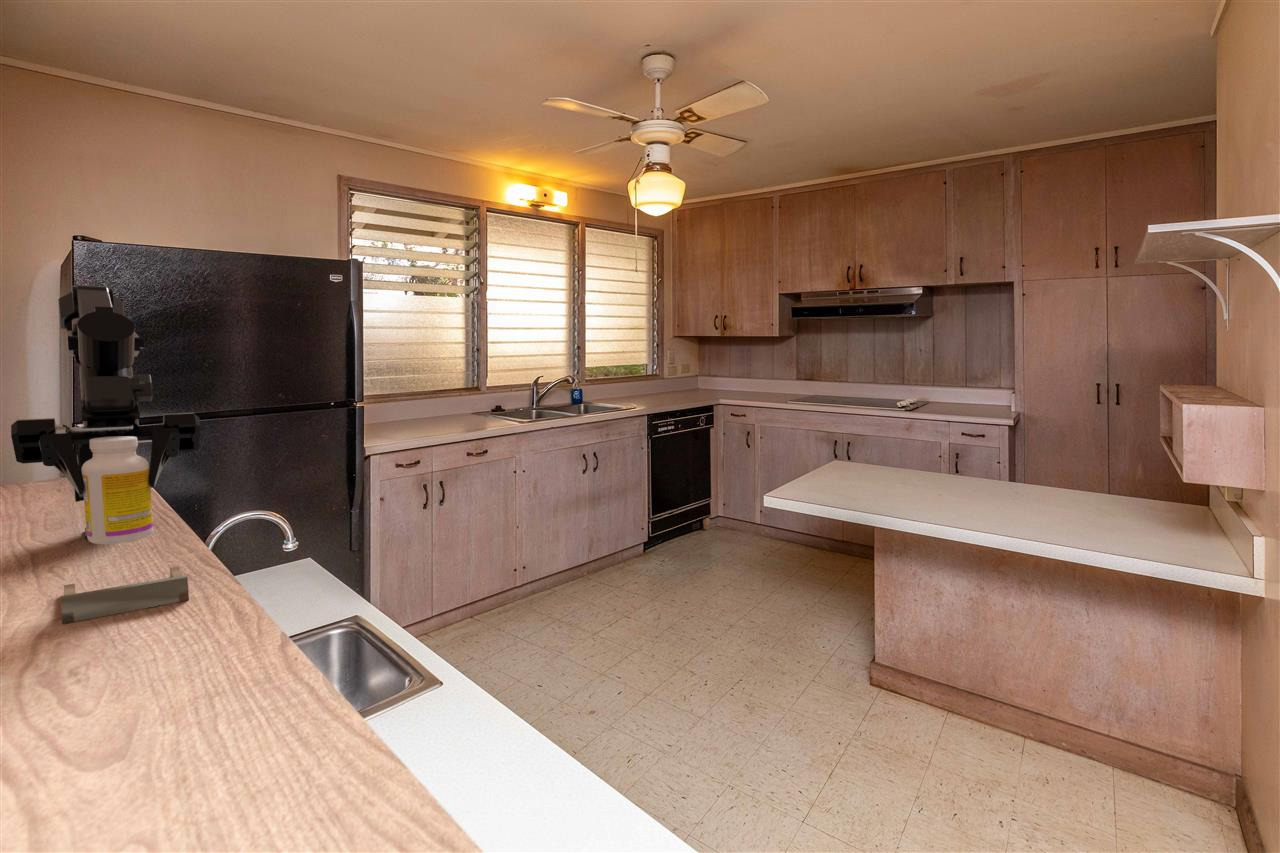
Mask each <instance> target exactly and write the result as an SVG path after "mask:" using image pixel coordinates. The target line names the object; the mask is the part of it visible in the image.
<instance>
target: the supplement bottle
mask: <svg viewBox="0 0 1280 853" xmlns="http://www.w3.org/2000/svg"><path fill="white" fill-rule="evenodd" d="M138 446H139V443H138V440H137V437H133V436H114V437H100V438H93V439H90V449H91V452H93V457H92V459H90V460H88V461H86V462H85V463H84V464H83V466H82V469H81V471H82V482H83V494H84V500H83V503H84V506H83V507H84V518H85V528H86V532H87V538H88V539H87V540H88V542H90V543H91V544H96V545H116V544H117V545H118V544H126V543H131V542H132V543H133V542H135V541H139V540H142V539H146V538H147V537H149V536H151V535H152V534H153V533H154V517H153V504H152V503H153V502H152V493H151V489H152V488H151V487H150V463H149V462H148V460H147V459H146V458H144V457H143V456H141V455H137V449H138Z"/></svg>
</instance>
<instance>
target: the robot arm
mask: <svg viewBox="0 0 1280 853" xmlns="http://www.w3.org/2000/svg"><path fill="white" fill-rule="evenodd" d="M57 301H58V316H59V327H60V330H65V331H66V333H65V334H66V335H65V336H66V348H67V356H69V357H74V361H75V363H76V364H77V365H79V369H78V371H79V372H78V373H79V384H80V385H79V386H80V398H81V399H80V412H81V422H82V426H80V427H79V426H77V427H76V426H75V427H74V426H73V427H69V426H68V425H65V424H56V418H55V417H50V418H49V417H48V418H25V419H16V420H15V421H14V422H13V423H11V424H10V437H11V441H12V447H13V452H14V456H15V461H16V462H17V463H20V464H34V463H35V464H38V463H42V464H43V466H46V467H55V469H57V470H58V471H59V472H60V473H61V474H62V475H63V476H64V477H65V478H66V479H67V480H68V481H69V483H70V484H71V486H72V487H73V490H74V501H75V502H76V503H78V502H81V501H83V502H84V494H83V482H82V471H81V469H82V466H83V464H84V463H85V462H86V461H88V460H90V459H92V457H93V452H91V449H90V439H93V438H100V437H114V436H133V437H137V440H138V444H140V443H151V448H150V449H151V450H150V462H149V474H150V489H153V488H155V487H156V485H157V482H158V479H159V477H160V475H161V473H162V470H163V468H164V467H165V466H166V464H167V462H168V461H169V459H171V458H176V457H178V456H179V455H180V454H179V453H190V452H191V453H192V452H196V451H198V450H199V449H200V436H201V427H202V426H201V425H202V424H201V421H200V417H199V416H198V415H197V414H195V412H178V413H177V412H176V413H164V414H162V415H163V416H162V424H161V425H160V424H159V425H158V424H157V425H155V424H154V425H140V419H141V413H140V412H141V411H140V405H139V402H152V401H153V395H154V393H153V392H154V391H153V381H152V376H151V374H150V373H149V374H148V373H147V374H146V373H145V374H144V373H143V374H140V373H139V374H134V370H133V367H132V366H133V365H134V363H135V357H138V355H139V353H140V352H141V350H142V349H144V348H145V339H144V338H141V337H140V335H138V334H137V332H135V330H136V329H135V328H136V326H135V323H133V322H132V320H130V319H129V318H128V317H127V316H125V306H124V301H122V300H121V299H119V298H118V297H117V296H115V295H114V292H113V288H112V287H111V288H110V287H108V286H105V285H89V284H76V285H72V286H71V291H70V292H69V293H67V294H65V295H63V296H61V297H59V298H58V300H57ZM74 445H81V446H80V447H79V449H78V450H77V455H76V451H75V447H74ZM84 538H85V539H87V540H88V538H87V532H86V527H85V528H84Z"/></svg>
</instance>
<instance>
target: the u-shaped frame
mask: <svg viewBox="0 0 1280 853" xmlns="http://www.w3.org/2000/svg"><path fill="white" fill-rule="evenodd" d="M169 572H170V573H169V574H170V577H166V578H162V579H154V580H148V581H143V582H137V583H131V584H126V585H119V586H114V587H108V588H101V589H96V590H91V591H85V592H84V591H83V592H78V593H76V586H75V583H71V584H64V585H63V594H62V595H61V596H60V598H59V599H60V600H59V601H60V608H61V620H62V622H61V623H62V625H65V624H70V623H75V622H80V621H86V620H92V619H96V618H102V617H106V616H107V617H108V616H112V615H117V614H123V613H128V612H133V611H138V610H139V611H140V610H144V609H148V607H150V608H153V607H154V606H155V607H159V606H158V605H160V606H164V605H169V604H174V603H181V602H185V601H189V600H190V597H189V596H190V595H189V581H188V579H189V578H188V575H187V574H184V575H183V573H182V571H181V569H180V566H175V567H169ZM155 607H154V608H155Z"/></svg>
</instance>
